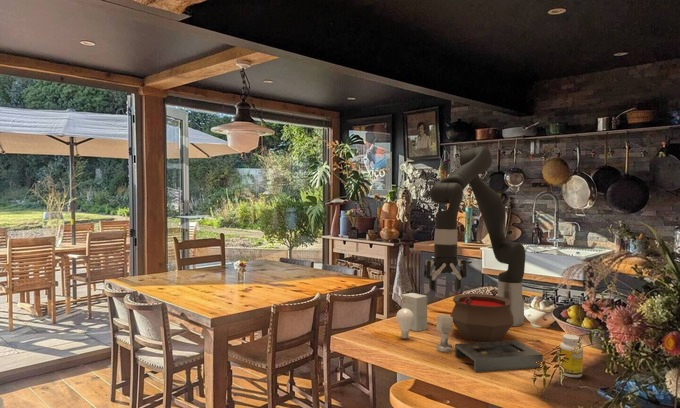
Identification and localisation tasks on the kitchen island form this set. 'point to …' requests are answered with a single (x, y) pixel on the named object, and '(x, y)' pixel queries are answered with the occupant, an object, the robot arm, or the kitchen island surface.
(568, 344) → the pill bottle
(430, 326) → the kitchen island surface
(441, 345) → the keyhole peg
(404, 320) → the lightbulb
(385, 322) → the kitchen island surface
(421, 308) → the small box
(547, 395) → the kitchen island surface
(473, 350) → the keyhole plate
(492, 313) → the brown cooking pot
